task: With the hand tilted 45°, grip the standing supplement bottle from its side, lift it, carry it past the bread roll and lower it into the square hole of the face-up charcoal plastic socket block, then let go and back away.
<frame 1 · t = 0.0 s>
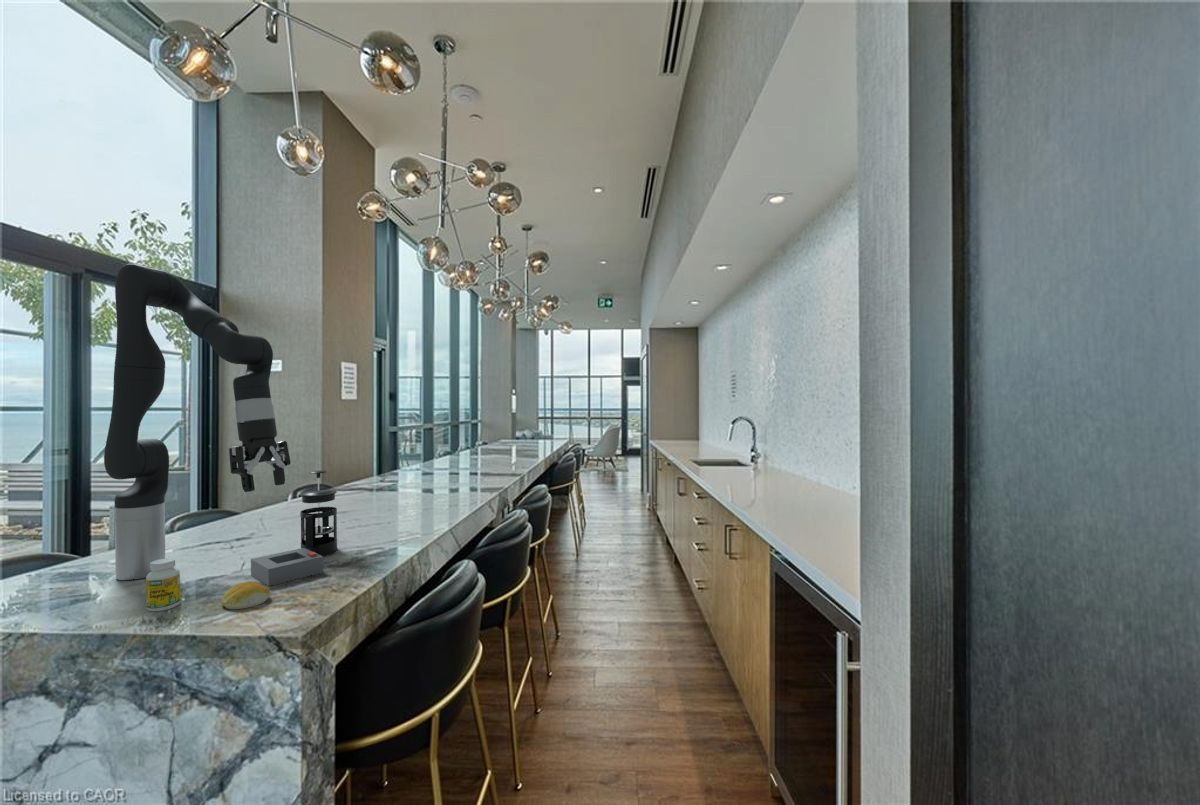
hand: (265, 488, 120), 22 cm above the countertop, tool pointing down, fingers open, 8 cm apart
supplement bottle: (163, 607, 108), on the countertop
french press: (318, 554, 144), on the countertop
socket block: (287, 573, 127), on the countertop
bread roll: (246, 603, 110), on the countertop
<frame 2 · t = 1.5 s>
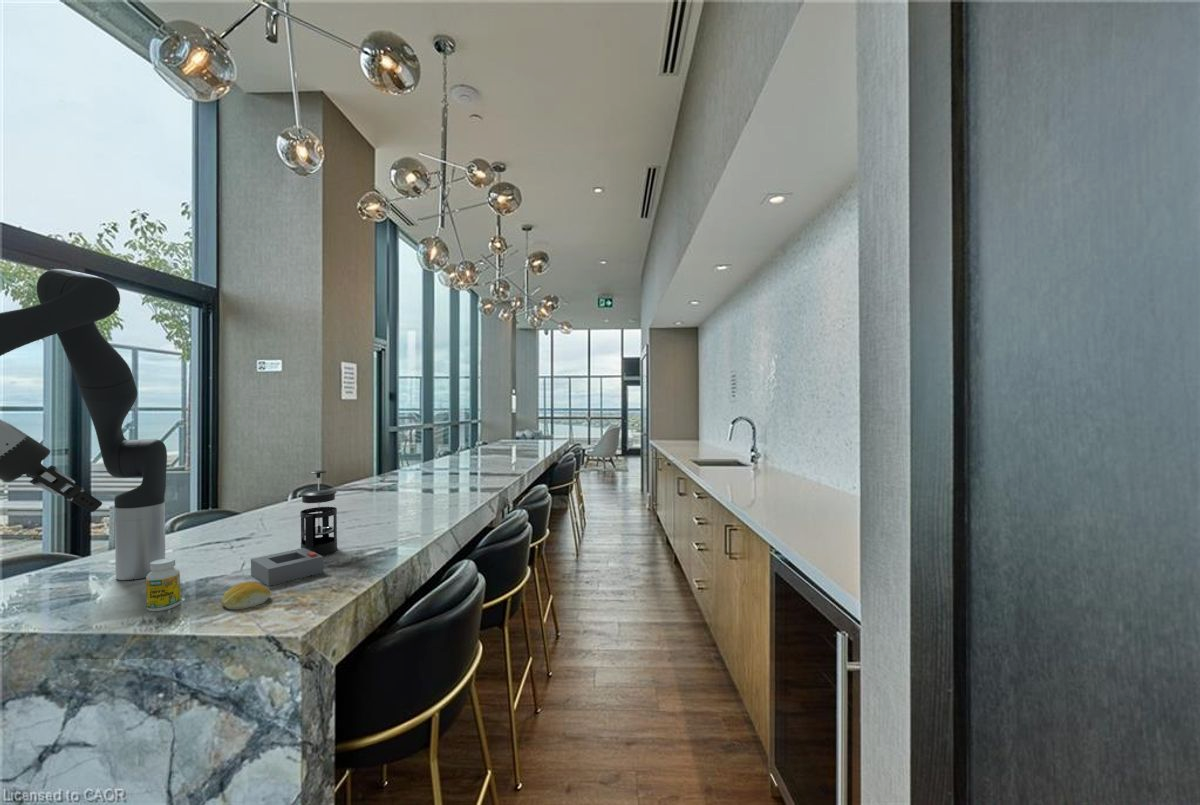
hand: (92, 505, 99), 23 cm above the countertop, tool tilted 45°, fingers open, 8 cm apart
nothing on the countertop moved.
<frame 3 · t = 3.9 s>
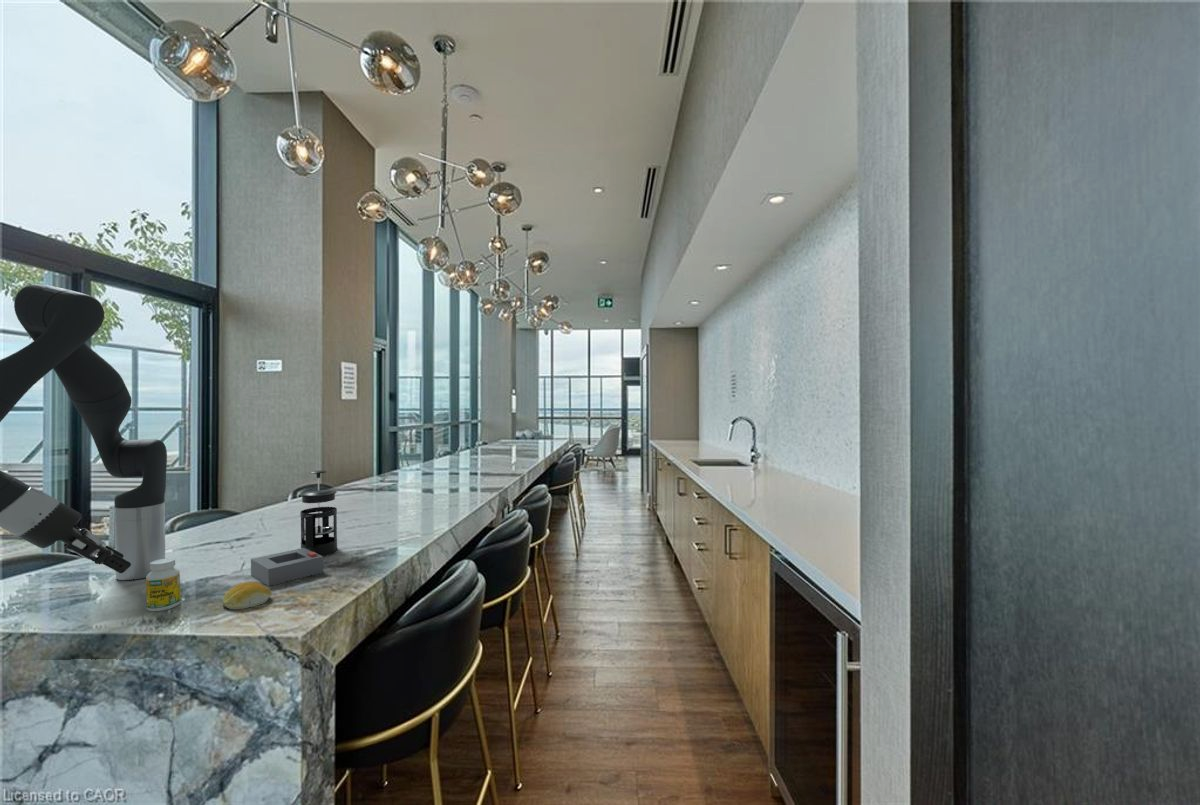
hand: (123, 564, 103), 10 cm above the countertop, tool tilted 45°, fingers open, 8 cm apart
nothing on the countertop moved.
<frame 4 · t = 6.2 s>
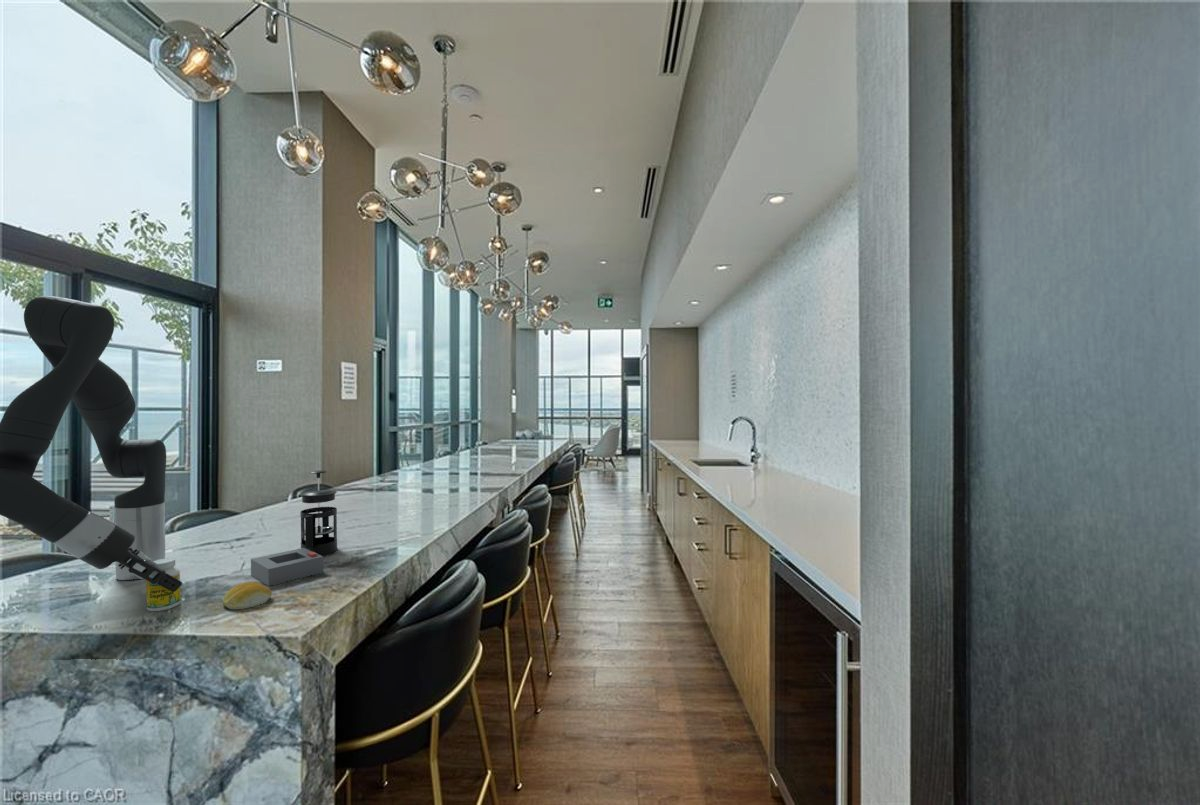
hand: (174, 584, 109), 4 cm above the countertop, tool tilted 45°, fingers closed on supplement bottle, 5 cm apart
supplement bottle: (163, 607, 108), on the countertop, touching gripper
everything else where it was.
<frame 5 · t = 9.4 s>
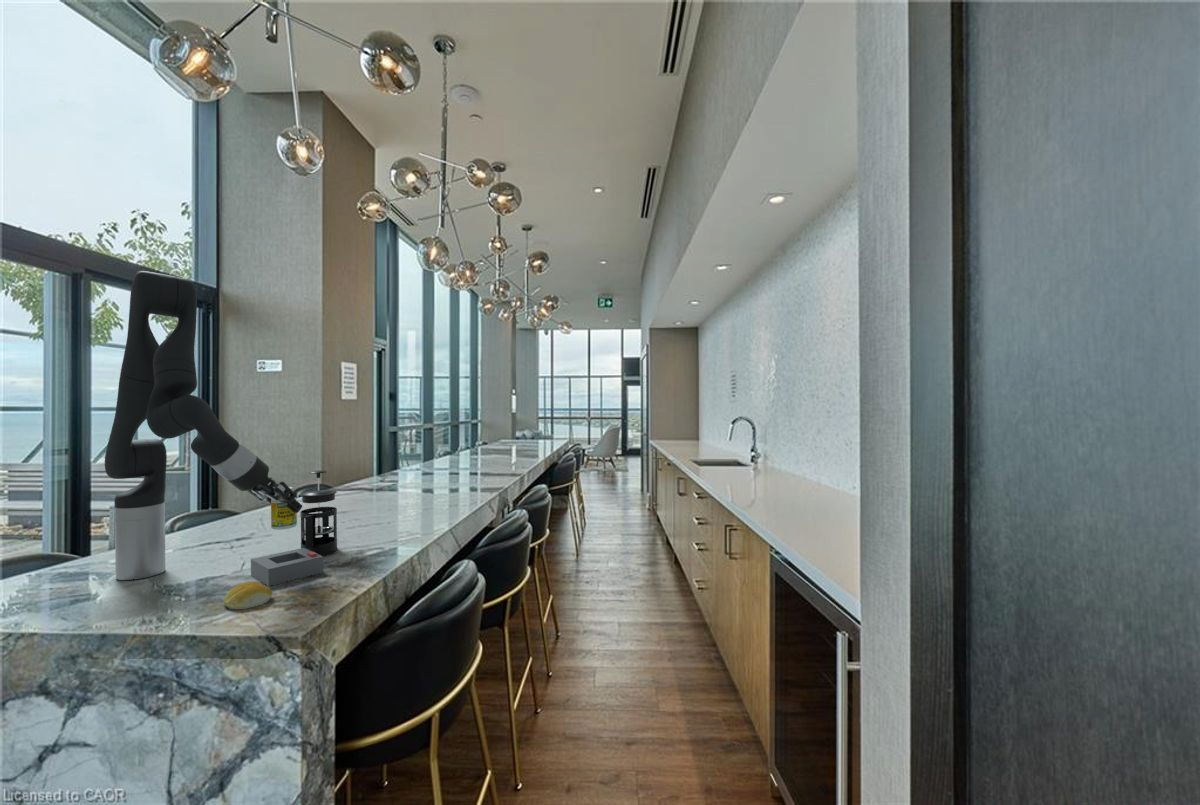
hand: (291, 508, 128), 16 cm above the countertop, tool tilted 45°, fingers closed on supplement bottle, 5 cm apart
supplement bottle: (284, 528, 126), point 12 cm above the countertop, touching gripper
everything else where it was.
when the fingers open (6 cm above the countertop, at t = 12.4 s): supplement bottle drops 1 cm, resting on socket block.
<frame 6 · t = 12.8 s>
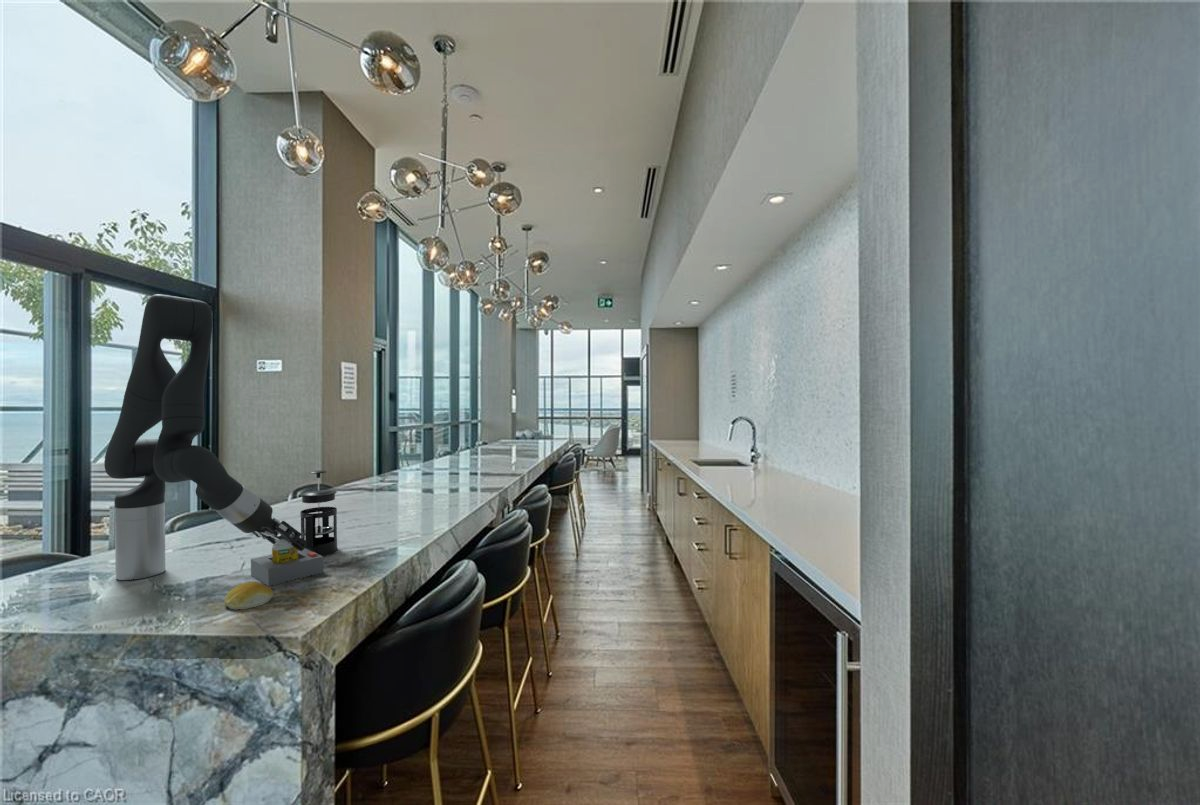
hand: (292, 545, 128), 7 cm above the countertop, tool tilted 45°, fingers open, 8 cm apart
supplement bottle: (286, 573, 127), resting on socket block
everything else where it was.
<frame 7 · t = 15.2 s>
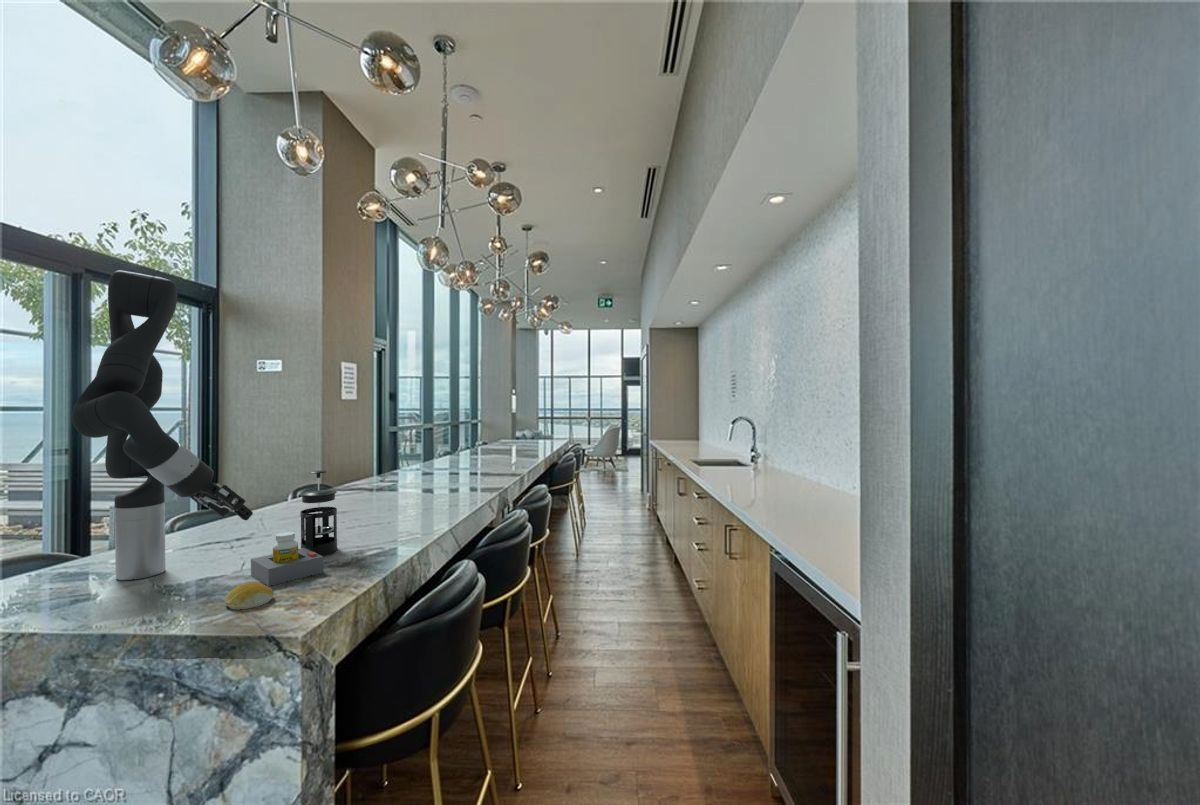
hand: (237, 514, 117), 17 cm above the countertop, tool tilted 45°, fingers open, 8 cm apart
nothing on the countertop moved.
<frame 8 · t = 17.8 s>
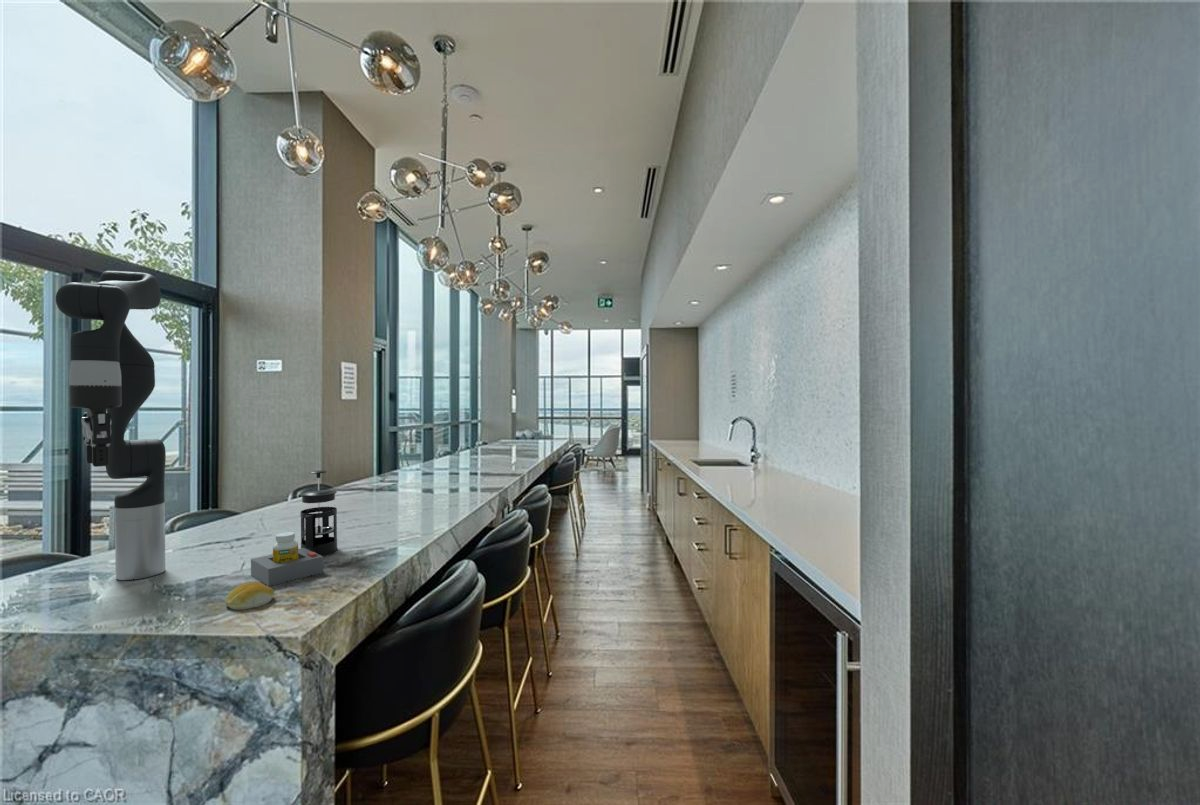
hand: (97, 464, 104), 30 cm above the countertop, tool pointing down, fingers open, 8 cm apart
at the end: supplement bottle 0.3 cm off-centre on the socket block, point 0.1 cm above the socket block's base; supplement bottle tilted 0°; the gripper is holding nothing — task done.
